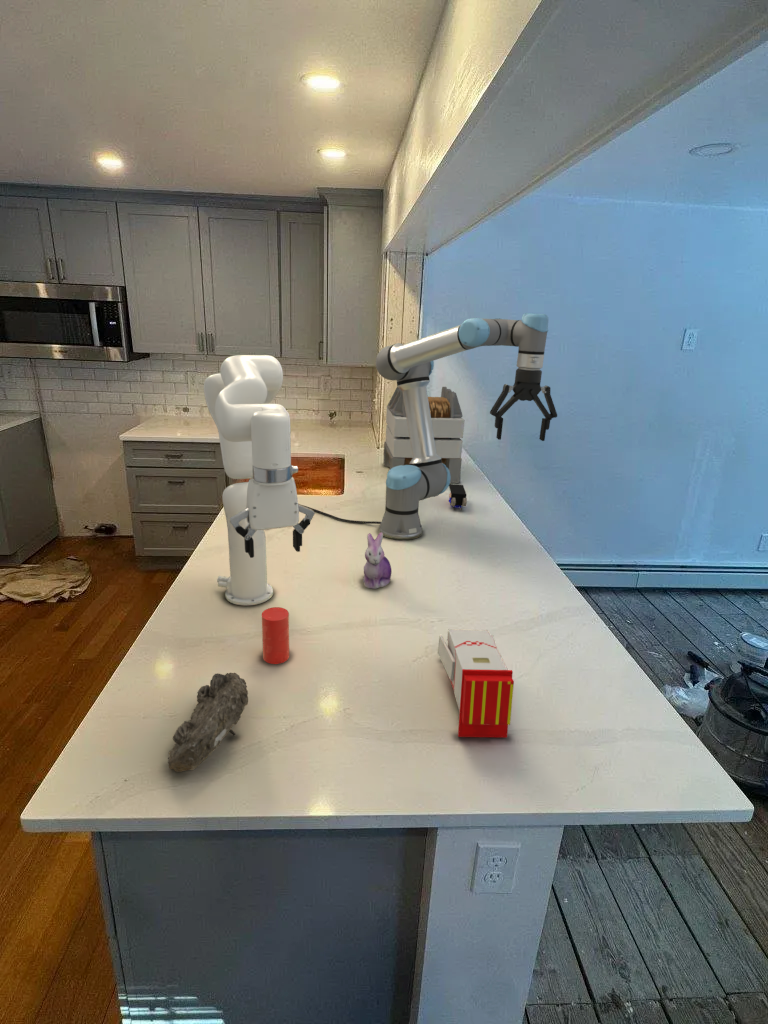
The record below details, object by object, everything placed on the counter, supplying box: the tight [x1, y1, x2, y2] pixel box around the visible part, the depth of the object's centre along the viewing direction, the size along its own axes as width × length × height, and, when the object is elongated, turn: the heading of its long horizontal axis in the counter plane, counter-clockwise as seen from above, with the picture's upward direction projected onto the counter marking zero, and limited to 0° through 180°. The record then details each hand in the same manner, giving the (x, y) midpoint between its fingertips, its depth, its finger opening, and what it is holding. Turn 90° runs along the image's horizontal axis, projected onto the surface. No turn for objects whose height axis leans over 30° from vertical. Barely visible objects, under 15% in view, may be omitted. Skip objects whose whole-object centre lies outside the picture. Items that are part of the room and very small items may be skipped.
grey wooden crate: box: [383, 386, 465, 484], centre depth 268 cm, size 34×33×41 cm
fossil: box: [167, 672, 249, 773], centre depth 102 cm, size 22×10×15 cm
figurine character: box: [448, 483, 468, 511], centre depth 230 cm, size 7×8×15 cm
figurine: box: [362, 532, 392, 589], centre depth 161 cm, size 9×10×15 cm
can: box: [261, 606, 290, 665], centre depth 126 cm, size 6×6×11 cm
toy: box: [437, 628, 515, 738], centre depth 117 cm, size 12×13×30 cm
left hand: (274, 552), depth 119 cm, fingers open, 9 cm apart
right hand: (520, 439), depth 175 cm, fingers open, 13 cm apart
